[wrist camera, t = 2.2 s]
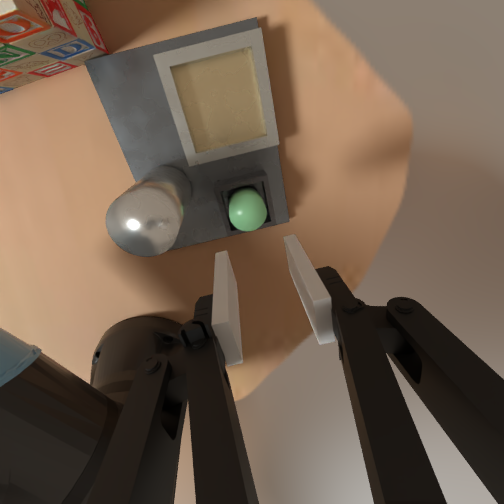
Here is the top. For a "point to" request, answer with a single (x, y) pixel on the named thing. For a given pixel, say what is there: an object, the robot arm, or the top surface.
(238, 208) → the button
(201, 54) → the panel
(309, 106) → the top surface
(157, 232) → the cylinder
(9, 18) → the stack of blocks
